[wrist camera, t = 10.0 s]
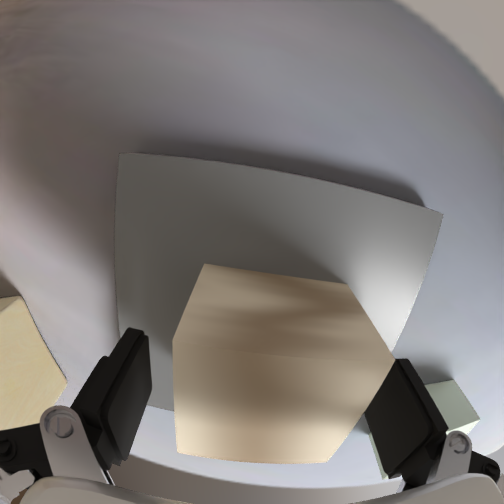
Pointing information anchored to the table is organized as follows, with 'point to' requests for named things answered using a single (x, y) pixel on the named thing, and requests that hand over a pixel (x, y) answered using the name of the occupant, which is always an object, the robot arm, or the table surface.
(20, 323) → the toy refrigerator
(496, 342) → the table surface
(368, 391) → the birch block
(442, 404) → the sage block
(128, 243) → the base plate
